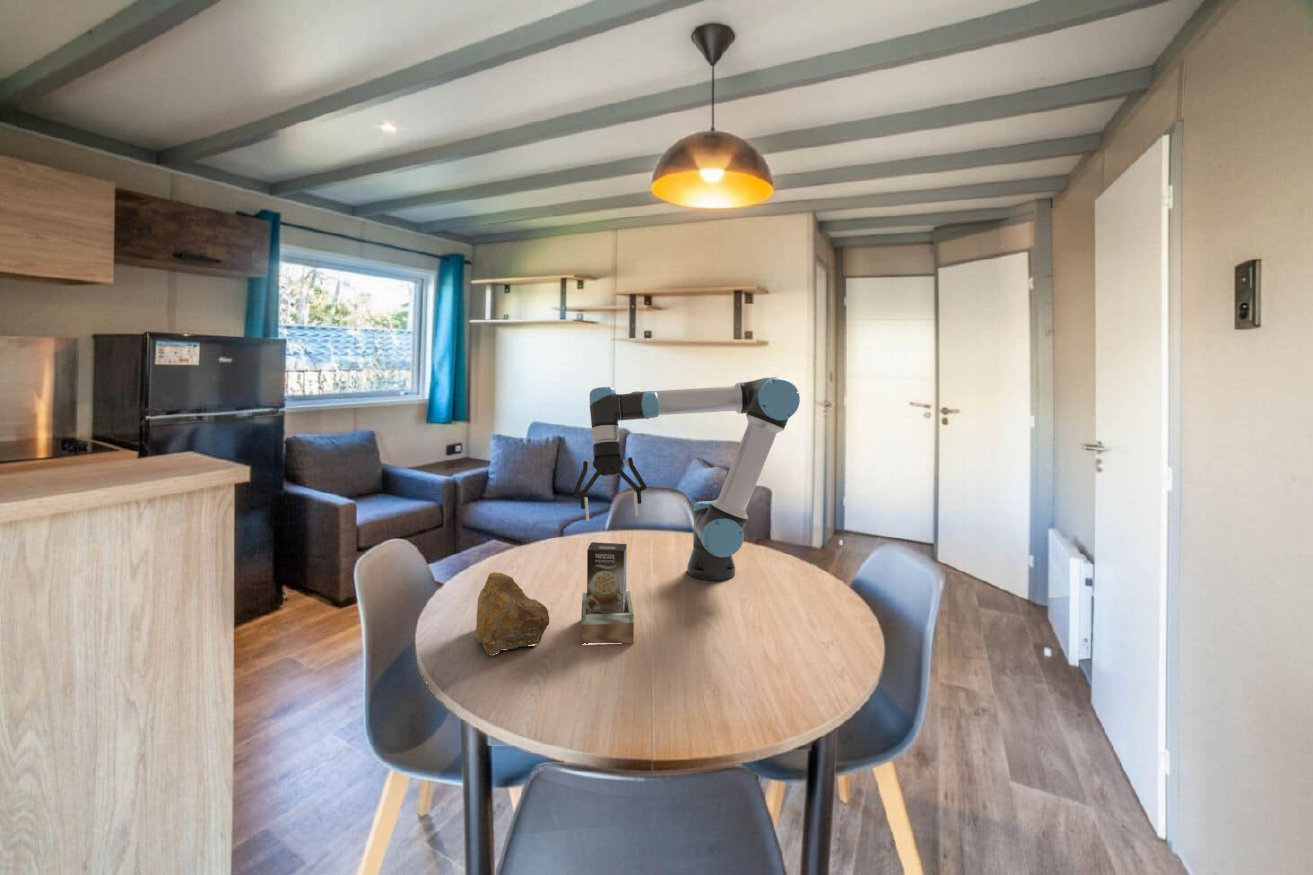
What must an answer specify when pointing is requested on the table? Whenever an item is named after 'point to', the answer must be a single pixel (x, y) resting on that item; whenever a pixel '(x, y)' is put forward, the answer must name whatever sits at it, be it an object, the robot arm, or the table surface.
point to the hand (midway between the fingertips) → (612, 518)
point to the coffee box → (606, 578)
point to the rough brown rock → (508, 616)
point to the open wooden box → (607, 625)
